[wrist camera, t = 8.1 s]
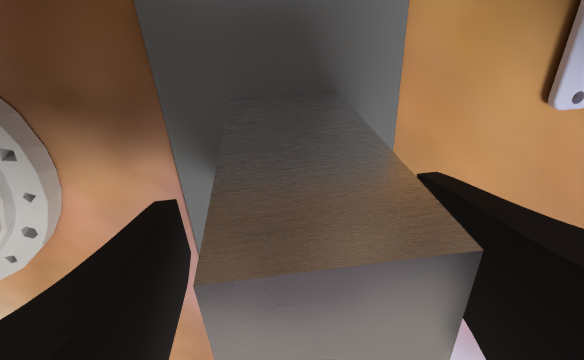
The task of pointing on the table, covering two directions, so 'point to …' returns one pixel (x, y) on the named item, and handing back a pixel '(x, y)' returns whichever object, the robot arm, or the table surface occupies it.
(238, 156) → the alloy block
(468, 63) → the table surface
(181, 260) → the robot arm
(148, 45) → the rubber mat
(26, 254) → the mechanical component
